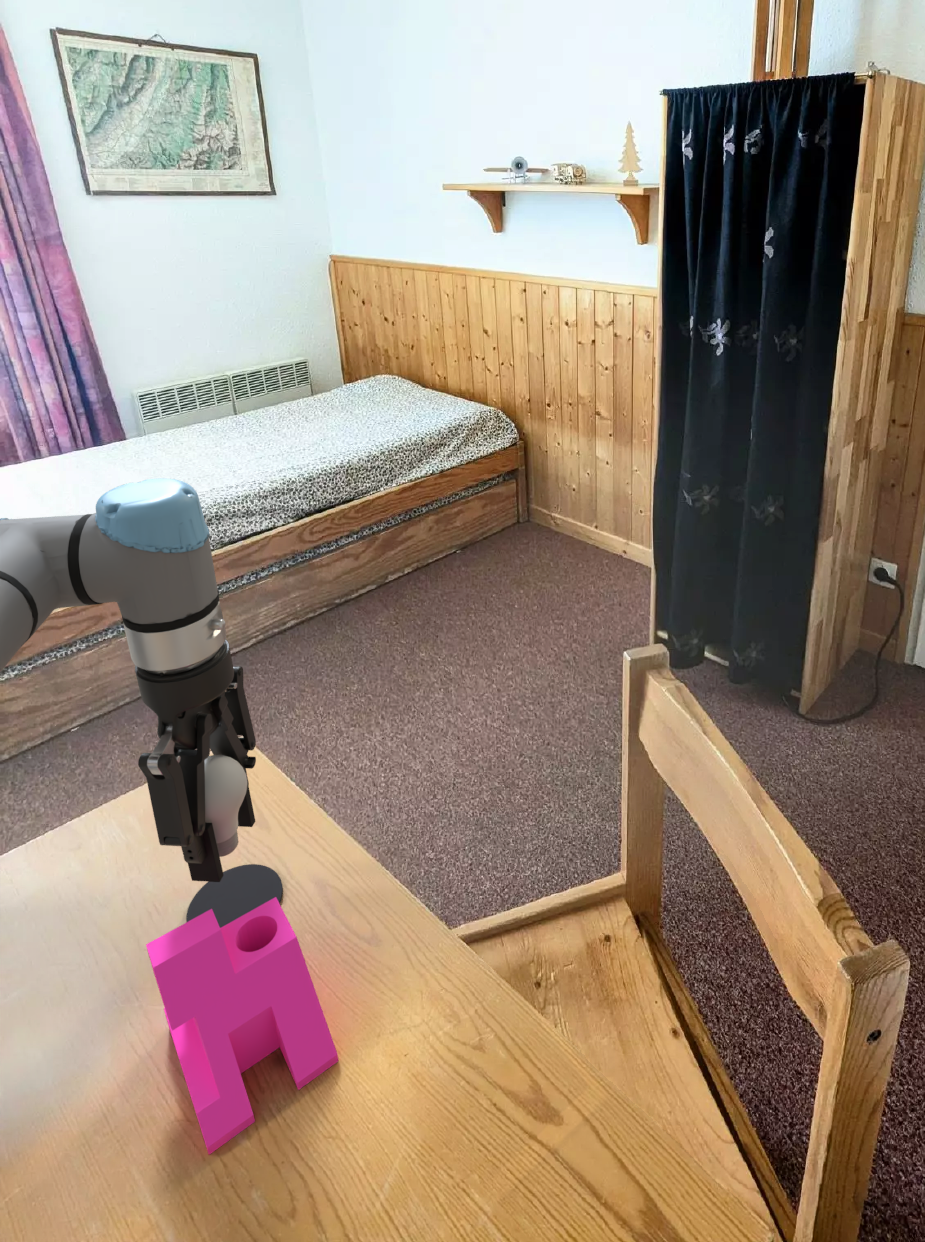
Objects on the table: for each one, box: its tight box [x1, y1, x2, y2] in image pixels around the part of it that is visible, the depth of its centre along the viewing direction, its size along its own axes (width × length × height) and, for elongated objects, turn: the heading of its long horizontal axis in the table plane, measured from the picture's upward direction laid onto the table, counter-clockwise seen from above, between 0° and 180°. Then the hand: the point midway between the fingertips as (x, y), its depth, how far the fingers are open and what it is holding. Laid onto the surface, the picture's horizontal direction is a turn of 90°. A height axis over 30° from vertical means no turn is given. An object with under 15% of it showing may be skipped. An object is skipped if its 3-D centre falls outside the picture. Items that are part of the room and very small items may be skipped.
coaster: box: [185, 863, 284, 928], centre depth 78 cm, size 9×9×1 cm
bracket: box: [145, 897, 339, 1156], centre depth 64 cm, size 12×10×10 cm
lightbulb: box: [205, 754, 248, 858], centre depth 74 cm, size 6×6×11 cm
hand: (225, 849), depth 76 cm, fingers closed on lightbulb, 6 cm apart
